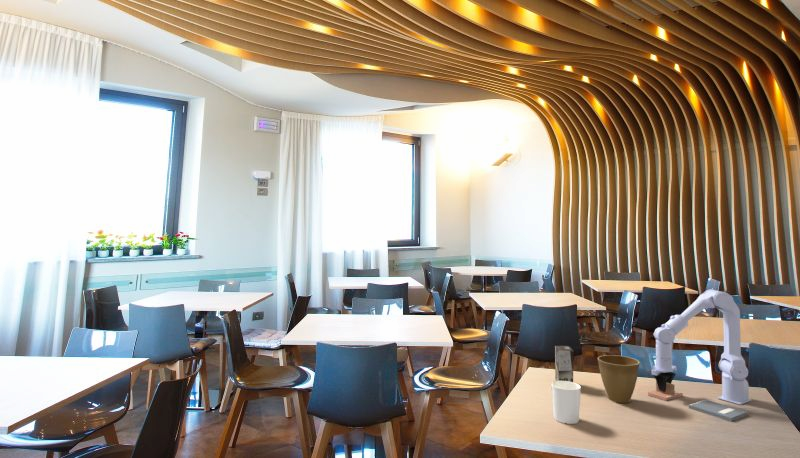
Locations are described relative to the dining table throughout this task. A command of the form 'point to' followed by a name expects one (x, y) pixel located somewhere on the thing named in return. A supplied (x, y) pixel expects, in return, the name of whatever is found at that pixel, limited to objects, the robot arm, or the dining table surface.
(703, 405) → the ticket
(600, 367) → the plant pot
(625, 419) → the dining table surface
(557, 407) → the candle holder
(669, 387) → the stub
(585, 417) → the dining table surface
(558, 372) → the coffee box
